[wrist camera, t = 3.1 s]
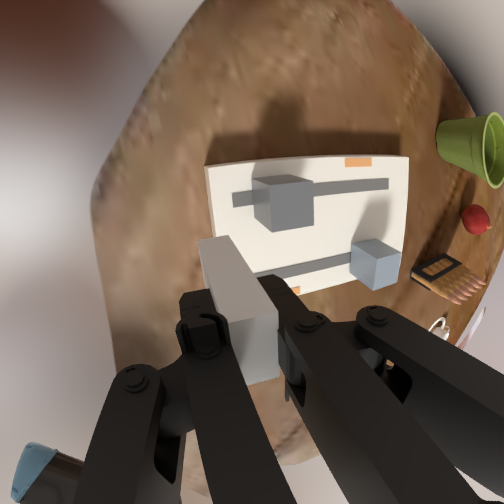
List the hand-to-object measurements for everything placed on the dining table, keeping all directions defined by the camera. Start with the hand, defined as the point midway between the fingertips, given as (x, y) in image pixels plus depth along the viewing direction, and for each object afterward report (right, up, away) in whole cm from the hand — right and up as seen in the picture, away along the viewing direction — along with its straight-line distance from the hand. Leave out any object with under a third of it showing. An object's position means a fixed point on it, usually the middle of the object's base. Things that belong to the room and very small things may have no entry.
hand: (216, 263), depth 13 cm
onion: (+43, +8, +30) cm, 53 cm away
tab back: (+16, 0, +20) cm, 26 cm away
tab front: (+4, +6, +14) cm, 16 cm away
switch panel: (+10, +5, +20) cm, 23 cm away
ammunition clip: (+35, -2, +31) cm, 47 cm away
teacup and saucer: (+44, -18, +41) cm, 63 cm away
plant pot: (+35, +20, +22) cm, 46 cm away
